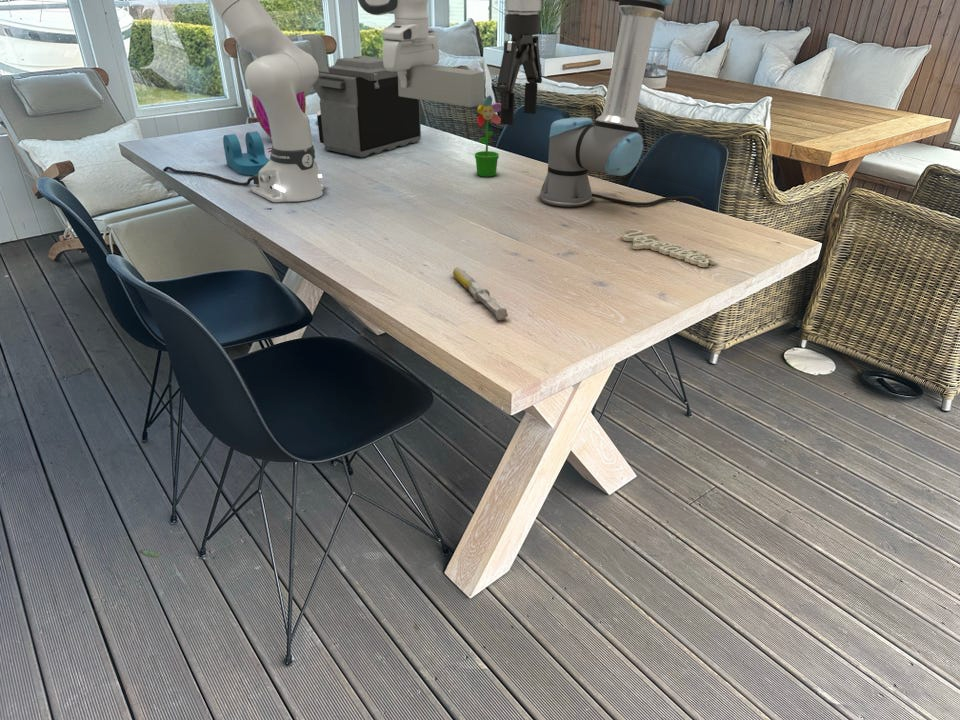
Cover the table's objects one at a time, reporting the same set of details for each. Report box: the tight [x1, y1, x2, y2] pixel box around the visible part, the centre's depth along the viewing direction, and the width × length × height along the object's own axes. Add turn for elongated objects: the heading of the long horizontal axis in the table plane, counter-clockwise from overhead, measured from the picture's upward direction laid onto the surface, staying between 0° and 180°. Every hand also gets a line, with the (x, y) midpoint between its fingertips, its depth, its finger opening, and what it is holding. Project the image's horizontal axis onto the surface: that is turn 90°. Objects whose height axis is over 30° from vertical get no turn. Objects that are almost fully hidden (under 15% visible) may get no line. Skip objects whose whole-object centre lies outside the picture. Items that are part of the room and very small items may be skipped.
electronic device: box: [312, 55, 422, 159], centre depth 250 cm, size 37×22×30 cm, turn 144°
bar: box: [398, 64, 485, 108], centre depth 184 cm, size 24×6×8 cm, turn 56°
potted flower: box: [474, 94, 502, 178], centre depth 220 cm, size 9×8×25 cm
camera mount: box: [222, 131, 271, 176], centre depth 226 cm, size 18×10×10 cm, turn 35°
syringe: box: [452, 266, 509, 321], centre depth 145 cm, size 25×4×3 cm, turn 21°
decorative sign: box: [622, 228, 715, 268], centre depth 169 cm, size 26×1×10 cm
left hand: (413, 85), depth 189 cm, fingers closed on bar, 6 cm apart
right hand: (518, 118), depth 154 cm, fingers open, 13 cm apart
